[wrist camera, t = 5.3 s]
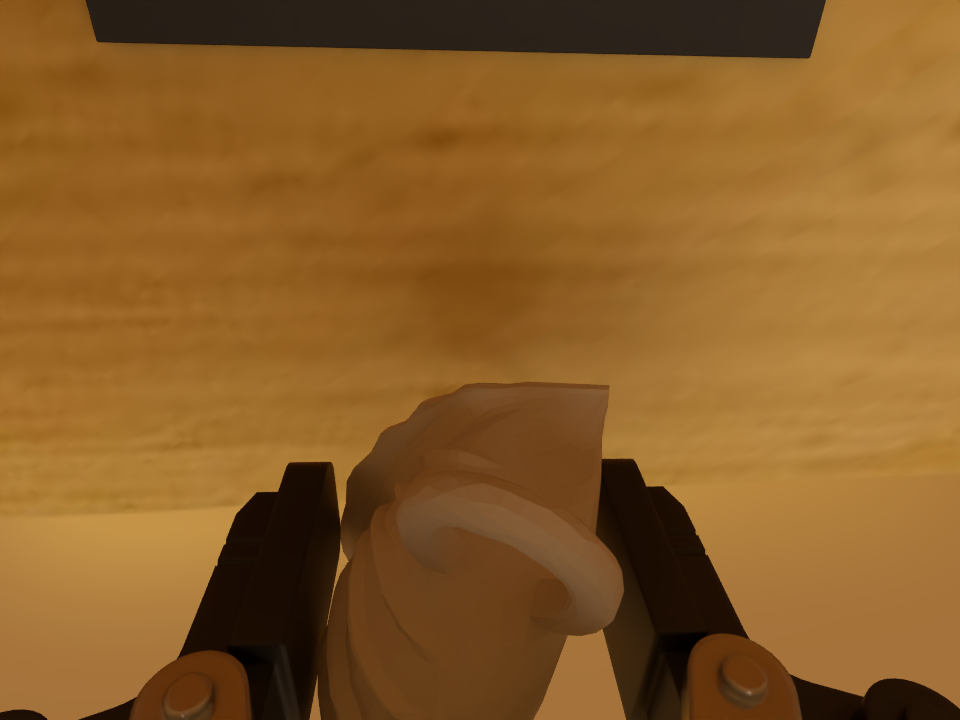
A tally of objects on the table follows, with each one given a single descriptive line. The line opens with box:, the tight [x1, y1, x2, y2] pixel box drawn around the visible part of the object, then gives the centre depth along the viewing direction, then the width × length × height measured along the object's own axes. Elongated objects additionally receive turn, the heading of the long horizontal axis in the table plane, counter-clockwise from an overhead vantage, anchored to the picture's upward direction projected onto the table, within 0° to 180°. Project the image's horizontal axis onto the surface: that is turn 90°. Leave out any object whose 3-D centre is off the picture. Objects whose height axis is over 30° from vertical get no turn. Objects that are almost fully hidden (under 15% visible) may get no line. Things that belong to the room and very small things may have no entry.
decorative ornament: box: [318, 382, 624, 720], centre depth 9 cm, size 4×8×5 cm, turn 162°
